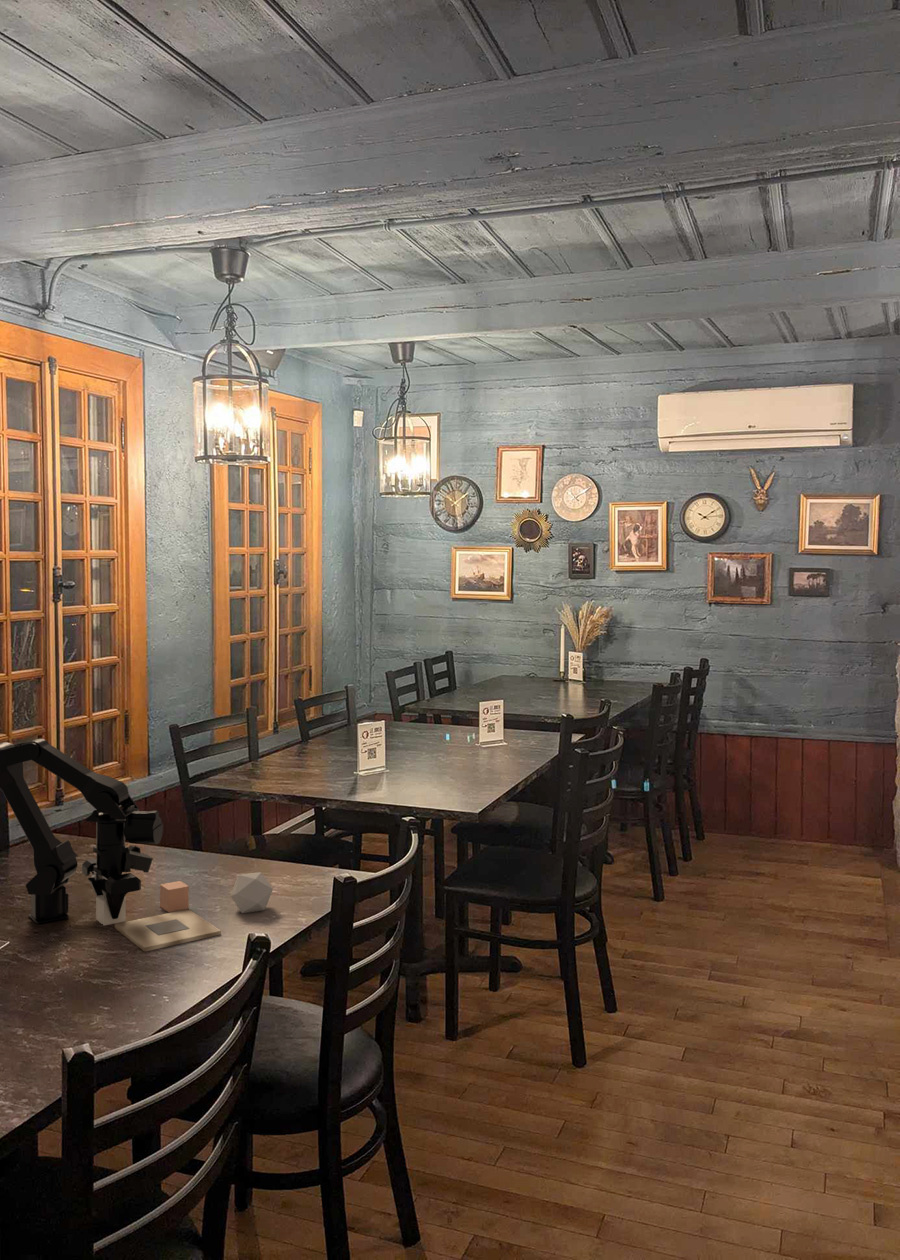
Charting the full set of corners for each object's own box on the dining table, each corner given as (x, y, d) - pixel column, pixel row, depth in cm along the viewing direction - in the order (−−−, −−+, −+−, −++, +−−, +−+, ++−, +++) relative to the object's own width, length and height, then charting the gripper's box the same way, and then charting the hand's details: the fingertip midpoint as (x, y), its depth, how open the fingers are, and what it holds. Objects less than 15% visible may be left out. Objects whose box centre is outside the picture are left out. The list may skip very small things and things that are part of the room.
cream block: (103, 925, 209) (103, 902, 209) (96, 919, 213) (96, 896, 212) (125, 921, 212) (125, 897, 212) (117, 915, 215) (117, 892, 215)
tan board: (144, 951, 195) (144, 947, 195) (114, 927, 208) (114, 923, 208) (220, 934, 205) (220, 930, 205) (188, 912, 218) (188, 908, 218)
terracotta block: (168, 912, 218) (168, 889, 217) (160, 906, 221) (160, 884, 221) (188, 908, 221) (188, 886, 220) (180, 902, 224) (180, 880, 224)
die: (267, 904, 226) (241, 869, 226) (286, 893, 221) (260, 858, 220) (242, 926, 220) (216, 891, 220) (262, 916, 214) (235, 880, 214)
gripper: (165, 846, 209) (165, 920, 210) (131, 827, 224) (131, 896, 224) (112, 854, 202) (112, 931, 203) (81, 834, 217) (81, 906, 218)
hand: (110, 915), depth 212 cm, fingers closed on cream block, 5 cm apart
